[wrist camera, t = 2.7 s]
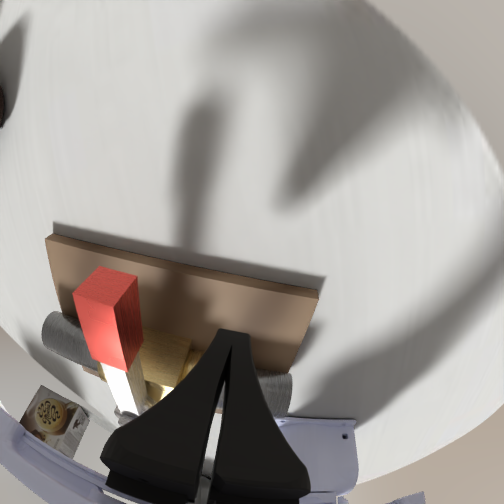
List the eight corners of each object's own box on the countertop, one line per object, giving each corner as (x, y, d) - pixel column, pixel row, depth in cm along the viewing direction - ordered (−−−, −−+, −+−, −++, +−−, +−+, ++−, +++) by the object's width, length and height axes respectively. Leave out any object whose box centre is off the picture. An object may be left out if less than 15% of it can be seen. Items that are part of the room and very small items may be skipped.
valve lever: (160, 411, 16) (150, 440, 14) (127, 400, 16) (116, 427, 14) (143, 277, 11) (115, 316, 8) (94, 264, 11) (61, 296, 8)
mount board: (316, 290, 17) (318, 299, 16) (265, 412, 24) (264, 420, 23) (52, 233, 17) (44, 238, 16) (87, 364, 24) (84, 370, 23)
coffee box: (53, 402, 34) (21, 462, 19) (40, 383, 31) (3, 449, 16) (91, 421, 34) (61, 490, 19) (80, 404, 31) (43, 480, 16)
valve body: (294, 353, 19) (295, 410, 14) (278, 389, 21) (276, 439, 17) (60, 293, 19) (28, 329, 14) (73, 333, 21) (47, 368, 17)
